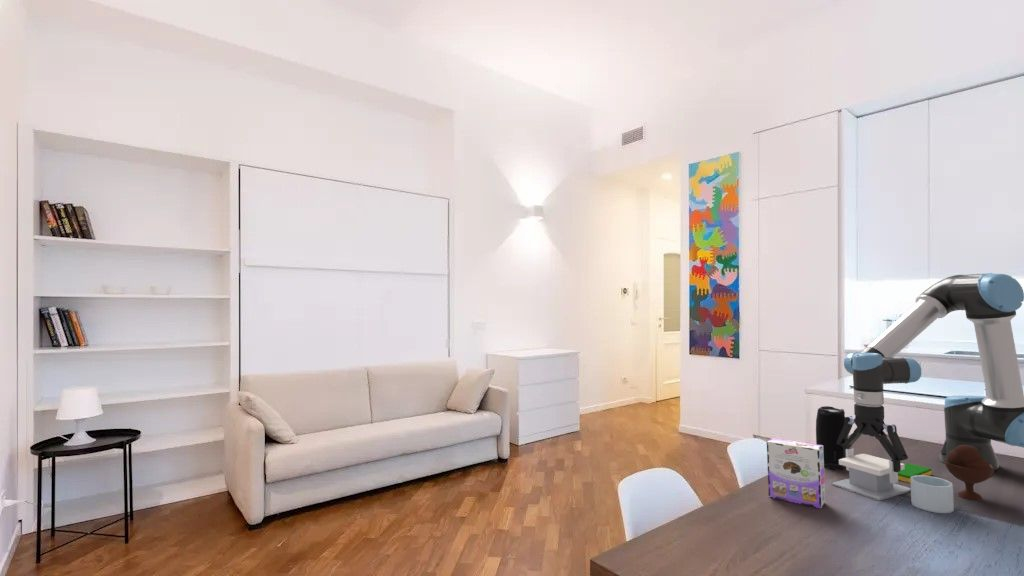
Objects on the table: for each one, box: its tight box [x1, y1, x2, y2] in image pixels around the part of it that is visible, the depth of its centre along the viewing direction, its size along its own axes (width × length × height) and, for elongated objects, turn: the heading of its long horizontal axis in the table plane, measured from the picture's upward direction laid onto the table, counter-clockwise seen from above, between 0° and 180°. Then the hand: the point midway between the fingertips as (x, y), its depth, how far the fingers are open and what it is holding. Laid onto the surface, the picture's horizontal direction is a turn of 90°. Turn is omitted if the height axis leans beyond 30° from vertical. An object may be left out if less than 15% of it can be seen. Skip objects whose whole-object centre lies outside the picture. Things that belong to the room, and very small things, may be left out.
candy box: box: [766, 437, 826, 509], centre depth 150 cm, size 14×6×16 cm, turn 47°
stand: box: [831, 467, 911, 502], centre depth 158 cm, size 16×14×6 cm
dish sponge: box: [898, 462, 932, 484], centre depth 168 cm, size 7×14×2 cm, turn 119°
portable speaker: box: [815, 405, 849, 470], centre depth 179 cm, size 9×9×20 cm
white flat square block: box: [839, 453, 905, 476], centre depth 158 cm, size 12×12×2 cm
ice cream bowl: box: [943, 445, 996, 501], centre depth 150 cm, size 11×11×15 cm
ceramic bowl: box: [910, 475, 955, 514], centre depth 144 cm, size 9×9×7 cm
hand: (871, 475), depth 158 cm, fingers closed on white flat square block, 12 cm apart
